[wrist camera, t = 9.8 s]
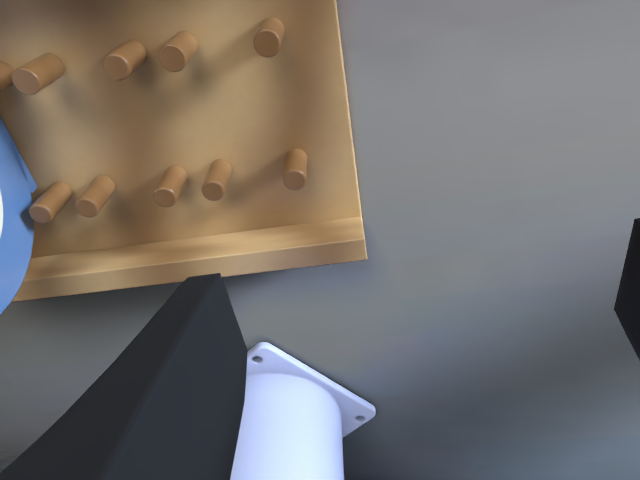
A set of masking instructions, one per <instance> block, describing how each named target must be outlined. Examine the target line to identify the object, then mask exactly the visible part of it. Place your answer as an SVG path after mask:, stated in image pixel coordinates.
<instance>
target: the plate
mask: <svg viewBox="0 0 640 480" xmlns="http://www.w3.org/2000/svg"><path fill="white" fill-rule="evenodd" d="M37 188H38V186H37V184H36V182H35V181H34V179H33V177H32V175H31V173H30V171H29V169H28V167H27V165H26V164H25V162H24V160H23V158H22V156H21V154H20V152H19V150H18V148H17V147H16V145H15V143H14V141H13V139H12V137H11V135H10V133H9V132H8V130H7V128H6V126H5V124H4V122H3V120H2V118H1V116H0V315H1V314H2V312H3V311H4V310H5V309H6V308H7V307H8V306H9V304H10V303H11V301H12V300H13V299H14V297H15V296H16V294H17V292H18V290H19V288H20V286H21V284H22V282H23V280H24V277H25V275H26V272H27V269H28V266H29V262H30V258H31V254H32V247H33V240H34V220H33V219H32V218H31V216H30V214H29V209H30V207H31V206H32V204H33V203H32V196H31V193H33V192H34V191H35V190H36V189H37Z"/></svg>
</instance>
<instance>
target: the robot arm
mask: <svg viewBox="0 0 640 480" xmlns="http://www.w3.org/2000/svg"><path fill="white" fill-rule="evenodd" d="M614 310H615V312H616V314H617V316H618V318H619V320H620V322H621V325H622V327H623V329H624V331H625V333H626V335H627V337H628V339H629V341H630V343H631V345H632V346H633V348H634V350H635V352H636V354H637V356H638V358H639V360H640V218H638V219H635V220H634V224H633V229H632V233H631V237H630V242H629V246H628V250H627V255H626V259H625V264H624V268H623V272H622V277H621V281H620V285H619V290H618V294H617V298H616V303H615V307H614ZM255 356H259V357H255ZM375 414H376V412H375V407H374V406H373V405H372V404H370V403H369V402H367V401H365V400H364V399H362V398H360V397H359V396H357V395H355V394H354V393H352V392H350V391H349V390H347V389H345V388H343V387H342V386H340V385H338V384H337V383H335V382H333V381H332V380H330V379H328V378H327V377H325V376H323V375H322V374H320V373H318V372H317V371H315V370H313V369H312V368H310V367H308V366H307V365H305V364H303V363H302V362H300V361H298V360H297V359H295V358H293V357H292V356H290V355H288V354H287V353H285V352H283V351H282V350H280V349H278V348H277V347H275V346H273V345H272V344H270V343H267V342H260V343H258V344H256V345H255V346H254V347H253V348H251V349H250V350H249V351H247V348H246V345H245V342H244V339H243V337H242V334H241V331H240V328H239V325H238V322H237V320H236V317H235V314H234V311H233V308H232V305H231V302H230V300H229V297H228V294H227V291H226V288H225V285H224V283H223V280H222V277H221V274H220V273H215V274H207V275H199V276H192V277H188V278H187V279H186V280H185V281H184V282H183V283H182V284H181V285H180V286H179V287H178V288H177V290H176V291H175V292H174V293H173V294H172V295H171V296H170V298H169V299H168V300H167V301H166V302H165V303H164V305H163V306H162V307H161V308H160V309H159V311H158V312H157V313H156V314H155V315H154V316H153V318H152V319H151V320H150V321H149V322H148V323H147V325H146V326H145V327H144V328H143V329H142V330H141V331H140V333H139V334H138V335H137V336H136V337H135V338H134V339H133V341H132V342H131V343H130V344H129V345H128V346H127V347H126V349H125V350H124V351H123V352H122V353H121V354H120V355H119V357H118V358H117V359H116V360H115V361H114V362H113V363H112V364H111V365H110V366H109V367H108V369H107V370H106V371H105V372H104V373H103V374H102V375H101V376H100V377H99V378H98V379H97V380H96V381H95V382H94V383H93V384H92V385H91V386H90V387H89V388H88V389H87V391H86V392H85V393H84V394H83V395H82V396H81V397H80V398H79V399H78V400H77V401H76V402H75V403H74V404H73V405H72V406H71V407H70V408H69V409H68V410H67V412H66V413H65V414H64V415H63V416H61V417H60V418H59V419H58V420H57V421H56V422H55V423H54V424H53V425H52V426H51V427H50V428H49V429H48V430H47V431H46V432H45V433H44V434H43V435H42V436H41V437H40V438H39V439H38V440H37V441H36V442H34V443H33V444H32V445H31V446H30V447H29V448H28V449H27V450H26V451H25V452H23V453H22V454H21V455H20V456H19V457H18V458H17V459H16V460H15V461H13V462H12V463H11V464H10V465H9V466H8V467H7V468H6V469H5V470H4V471H2V472H1V473H0V480H344V469H343V444H342V438H343V437H345V436H346V435H348V434H349V433H351V432H352V431H354V430H355V429H357V428H358V427H360V426H361V425H363V424H364V423H366V422H367V421H369V420H370V419H372V418H373V417H374V416H375Z"/></svg>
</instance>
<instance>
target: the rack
mask: <svg viewBox="0 0 640 480" xmlns="http://www.w3.org/2000/svg"><path fill="white" fill-rule="evenodd" d="M0 116H1V118H2V120H3V122H4V124H5V126H6V128H7V130H8V132H9V133H10V135H11V137H12V139H13V141H14V143H15V145H16V147H17V148H18V150H19V152H20V154H21V156H22V158H23V160H24V162H25V164H26V165H27V167H28V169H29V171H30V173H31V175H32V177H33V179H34V181H35V182H36V184H37V186H38V188H37V189H36V190H35V191H34V192H33V193H31V196H32V203H33V204H32V206H31V207H30V209H29V214H30V216H31V218H32V219H33V220H34V240H33V247H32V254H31V258H30V262H29V266H28V269H27V272H26V275H25V277H24V280H23V282H22V284H21V286H20V288H19V290H18V292H17V294H16V296H15V297H14V299H13V300H12V301H11V302H17V301H25V300H33V299H42V298H50V297H59V296H67V295H75V294H84V293H92V292H101V291H109V290H117V289H126V288H134V287H143V286H151V285H159V284H168V283H176V282H184V281H185V280H186V279H187V278H188V277H192V276H199V275H207V274H215V273H220V274H221V277H227V276H235V275H243V274H252V273H260V272H269V271H277V270H285V269H294V268H302V267H310V266H319V265H327V264H336V263H344V262H352V261H361V260H367V252H366V243H365V235H364V228H363V220H362V212H361V204H360V196H359V187H358V179H357V171H356V162H355V154H354V145H353V137H352V129H351V120H350V112H349V104H348V95H347V87H346V79H345V70H344V62H343V54H342V45H341V37H340V28H339V20H338V12H337V3H336V0H0Z"/></svg>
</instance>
